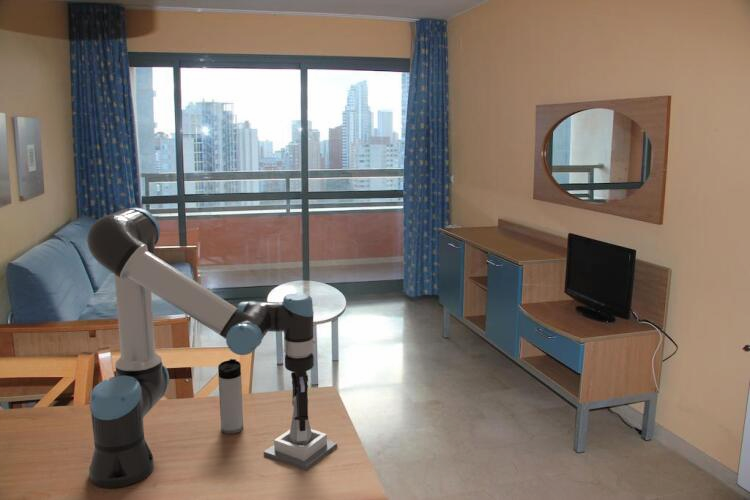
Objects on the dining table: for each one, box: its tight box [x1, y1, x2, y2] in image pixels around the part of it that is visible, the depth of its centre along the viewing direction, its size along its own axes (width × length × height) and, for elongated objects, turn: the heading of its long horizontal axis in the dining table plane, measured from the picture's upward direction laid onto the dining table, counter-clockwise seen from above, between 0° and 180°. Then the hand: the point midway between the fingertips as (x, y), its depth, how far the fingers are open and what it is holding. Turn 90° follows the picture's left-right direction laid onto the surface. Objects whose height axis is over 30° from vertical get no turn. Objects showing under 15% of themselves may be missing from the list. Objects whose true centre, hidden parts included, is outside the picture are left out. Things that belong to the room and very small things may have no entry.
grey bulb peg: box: [289, 396, 312, 446], centre depth 170 cm, size 6×6×13 cm
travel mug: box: [217, 358, 244, 435], centre depth 182 cm, size 6×7×20 cm
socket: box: [263, 428, 338, 471], centre depth 172 cm, size 14×14×4 cm
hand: (300, 434), depth 171 cm, fingers closed on grey bulb peg, 6 cm apart
